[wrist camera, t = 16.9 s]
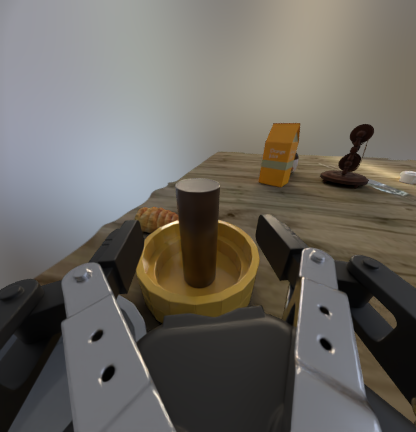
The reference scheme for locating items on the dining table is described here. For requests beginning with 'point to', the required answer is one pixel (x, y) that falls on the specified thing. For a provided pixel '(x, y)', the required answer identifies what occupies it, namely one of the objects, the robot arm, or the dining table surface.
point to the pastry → (154, 218)
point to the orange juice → (279, 154)
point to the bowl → (174, 276)
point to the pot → (60, 383)
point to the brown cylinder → (198, 229)
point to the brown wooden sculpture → (351, 160)
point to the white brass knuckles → (408, 177)
